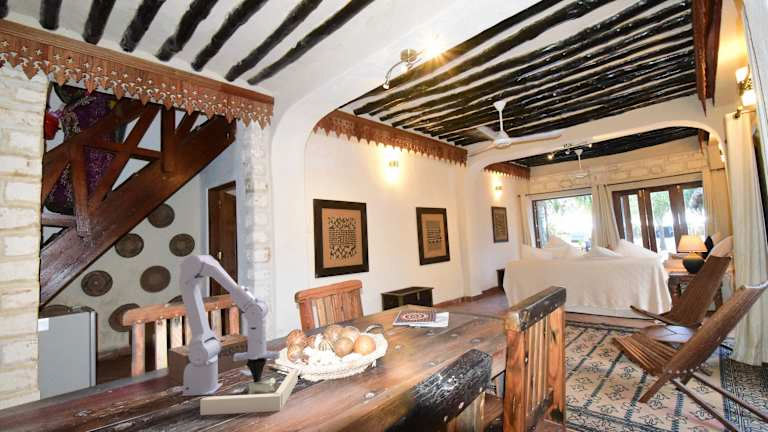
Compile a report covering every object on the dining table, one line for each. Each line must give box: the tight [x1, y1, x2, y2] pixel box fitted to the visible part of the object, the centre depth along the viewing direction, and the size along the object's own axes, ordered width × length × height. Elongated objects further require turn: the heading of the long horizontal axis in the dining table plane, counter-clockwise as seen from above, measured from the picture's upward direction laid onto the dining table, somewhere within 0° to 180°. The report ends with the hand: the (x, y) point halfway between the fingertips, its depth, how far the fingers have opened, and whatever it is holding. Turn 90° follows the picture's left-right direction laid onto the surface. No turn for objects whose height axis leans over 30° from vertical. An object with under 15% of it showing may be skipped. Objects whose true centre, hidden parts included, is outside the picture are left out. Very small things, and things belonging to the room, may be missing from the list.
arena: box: [199, 368, 299, 416], centre depth 106 cm, size 22×21×4 cm
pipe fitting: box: [246, 377, 277, 395], centre depth 107 cm, size 8×4×7 cm
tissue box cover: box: [167, 332, 248, 385], centre depth 132 cm, size 26×14×10 cm, turn 142°
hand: (257, 382), depth 111 cm, fingers closed
